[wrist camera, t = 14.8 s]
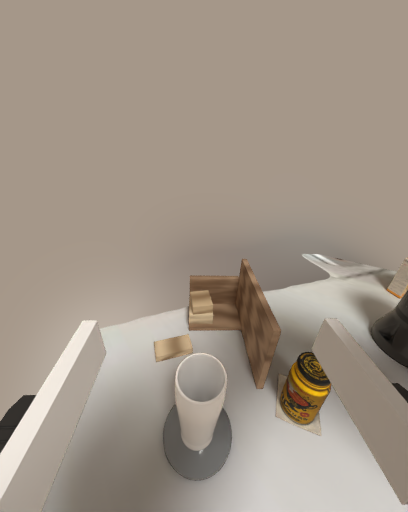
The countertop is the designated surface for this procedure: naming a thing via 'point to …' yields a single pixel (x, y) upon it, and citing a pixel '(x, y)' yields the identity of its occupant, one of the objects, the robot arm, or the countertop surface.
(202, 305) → the offcut upper
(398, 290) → the supplement box
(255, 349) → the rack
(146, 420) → the countertop surface
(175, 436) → the coaster
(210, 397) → the drinking glass
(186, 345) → the offcut flat
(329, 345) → the robot arm
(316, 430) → the condiment
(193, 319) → the offcut lower
